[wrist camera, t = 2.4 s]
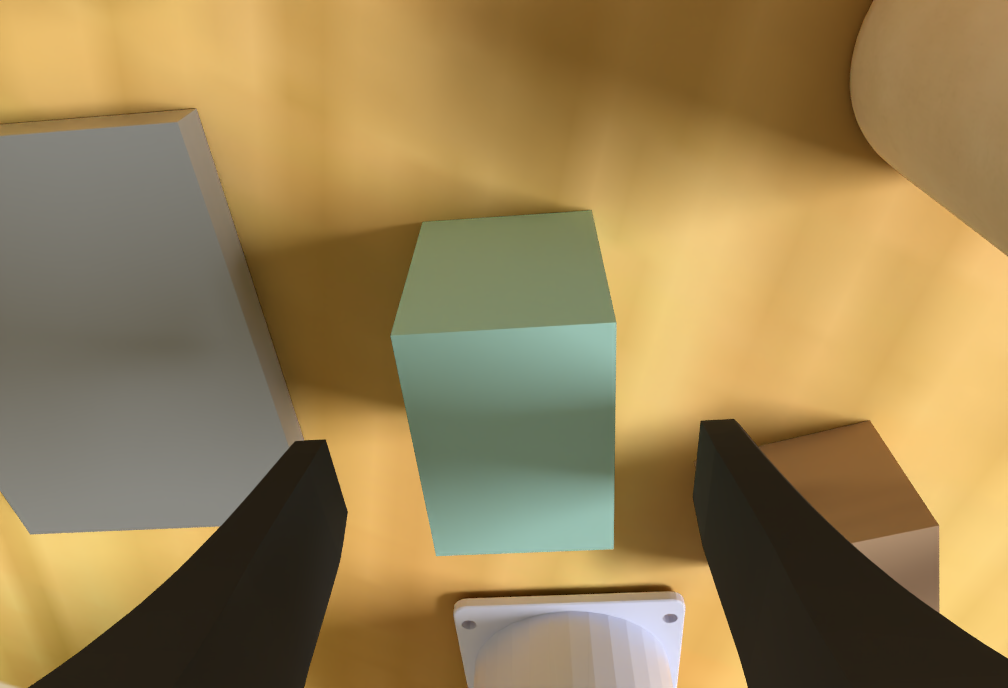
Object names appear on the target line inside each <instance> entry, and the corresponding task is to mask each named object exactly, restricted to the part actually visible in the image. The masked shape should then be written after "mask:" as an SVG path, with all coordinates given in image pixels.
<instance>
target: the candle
mask: <svg viewBox="0 0 1008 688" xmlns="http://www.w3.org/2000/svg"><path fill="white" fill-rule="evenodd" d="M850 95H851V101H852V108H853V111H854V114H855V117H856V120H857V123H858V125H859V127H860V129H861V131H862V133H863V135H864V136H865V138H866V139H867V141H868V142H869V144H870V145H871V146H872V148H873V149H874V150H875V152H876V153H877V154H878V155H879V156H880V157H881V158H883V159H884V160H885V161H886V162H887V163H888V164H889V165H890V166H892V167H893V168H894V169H895V170H896V171H898V172H899V173H900V174H901V175H902V176H904V177H905V178H906V179H908V180H909V181H910V182H912V183H913V184H914V185H915V186H917V187H918V188H919V189H921V190H922V191H923V192H925V193H926V194H927V195H929V196H930V197H931V198H932V199H934V200H935V201H936V202H938V203H939V204H940V205H942V206H943V207H944V208H945V209H947V210H948V211H949V212H951V213H952V214H953V215H955V216H956V217H957V218H959V219H960V220H961V221H962V222H964V223H965V224H966V225H968V226H969V227H970V228H972V229H973V230H974V231H975V232H977V233H978V234H979V235H981V236H982V237H983V238H985V239H986V240H987V241H989V242H990V243H991V244H992V245H994V246H995V247H996V248H998V249H999V250H1000V251H1002V252H1003V253H1004V254H1005V255H1007V256H1008V0H873V2H872V4H871V6H870V8H869V10H868V12H867V14H866V16H865V18H864V20H863V23H862V26H861V28H860V31H859V34H858V37H857V39H856V43H855V48H854V52H853V56H852V62H851V70H850Z"/></svg>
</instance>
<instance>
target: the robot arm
mask: <svg viewBox="0 0 1008 688" xmlns="http://www.w3.org/2000/svg"><path fill="white" fill-rule="evenodd" d="M693 501H694V506H695V511H696V516H697V521H698V526H699V531H700V536H701V540H702V545H703V549H704V552H705V555H706V558H707V561H708V564H709V567H710V570H711V573H712V576H713V580H714V583H715V586H716V589H717V592H718V595H719V598H720V601H721V604H722V606H723V609H724V612H725V615H726V618H727V621H728V624H729V627H730V630H731V633H732V636H733V639H734V642H735V645H736V648H737V651H738V654H739V657H740V661H741V664H742V668H743V671H744V675H745V678H746V682H747V686H748V688H1008V658H1006V657H1004V656H1003V655H1001V654H1000V653H998V652H996V651H995V650H993V649H992V648H990V647H988V646H987V645H985V644H984V643H982V642H980V641H979V640H977V639H976V638H974V637H973V636H971V635H970V634H968V633H967V632H965V631H964V630H962V629H961V628H960V627H958V626H957V625H955V624H954V623H953V622H951V621H950V620H948V619H947V618H945V617H944V616H943V615H941V614H940V613H938V612H937V611H936V610H934V609H933V608H931V607H930V606H928V605H927V604H926V603H924V602H923V601H921V600H920V599H919V598H917V597H916V596H915V595H913V594H912V593H911V592H909V591H908V590H907V589H905V588H904V587H903V586H901V585H900V584H899V583H898V582H896V581H895V580H894V579H893V578H891V577H890V576H889V575H888V574H887V573H885V572H884V571H883V570H882V569H880V568H879V567H878V566H877V565H876V564H874V563H873V562H872V561H871V560H870V559H868V558H867V557H866V556H865V555H864V554H863V553H862V552H860V551H859V550H858V549H857V548H856V547H855V546H854V545H853V544H852V543H850V542H849V541H848V540H847V539H846V538H845V537H844V536H843V535H842V534H841V533H840V532H839V531H838V530H836V529H835V528H834V527H833V526H832V525H831V524H830V523H829V522H828V521H827V520H826V519H825V518H824V517H823V516H822V515H821V514H820V513H819V512H818V511H817V510H816V509H815V508H814V507H813V506H812V505H811V504H810V503H809V502H808V501H807V500H806V499H805V498H804V497H803V496H802V495H801V494H800V493H799V492H798V491H797V489H796V488H795V487H794V486H793V485H792V484H791V483H790V482H789V481H788V480H787V479H786V478H785V477H784V476H783V474H782V473H781V472H780V471H779V470H778V469H777V468H776V467H775V466H774V464H773V463H772V462H771V461H770V460H769V459H768V458H767V456H766V455H765V454H764V453H763V452H762V451H761V450H760V448H759V447H758V446H757V445H756V444H755V442H754V441H753V440H752V439H751V438H750V436H749V435H748V434H747V433H746V432H745V430H744V429H743V428H742V427H741V426H740V424H739V423H738V422H736V421H735V420H734V419H726V420H706V421H701V423H700V433H699V442H698V452H697V461H696V471H695V481H694V490H693ZM347 513H348V511H347V508H346V505H345V502H344V498H343V495H342V492H341V488H340V485H339V482H338V479H337V475H336V472H335V469H334V465H333V462H332V459H331V456H330V452H329V449H328V446H327V442H326V439H325V440H305V441H295V442H294V443H293V444H292V445H291V446H290V447H289V448H288V450H287V451H286V452H285V453H284V454H283V455H282V456H281V458H280V459H279V460H278V461H277V462H276V463H275V465H274V466H273V467H272V468H271V469H270V470H269V472H268V473H267V474H266V475H265V476H264V478H263V479H262V480H261V481H260V482H259V483H258V485H257V486H256V487H255V488H254V489H253V490H252V492H251V493H250V494H249V495H248V496H247V497H246V498H245V500H244V501H243V502H242V503H241V504H240V505H239V506H238V507H237V509H236V510H235V511H234V512H233V513H232V514H231V515H230V516H229V517H228V519H227V520H226V521H225V522H224V523H223V524H222V525H221V526H220V527H219V528H218V530H217V531H216V532H215V533H214V534H213V535H212V536H211V537H210V538H209V539H208V540H207V541H206V542H205V543H204V544H203V545H202V546H201V547H200V548H199V549H198V550H197V551H196V552H195V553H194V554H193V555H192V556H191V557H190V558H189V559H188V560H187V561H186V562H185V563H184V564H183V565H182V566H181V567H180V568H179V569H178V570H177V571H176V572H175V573H174V574H173V575H172V576H171V577H170V578H169V579H168V580H166V581H165V582H164V583H163V584H162V585H161V586H160V587H159V588H157V589H156V590H155V591H154V592H153V593H152V594H151V595H150V596H148V597H147V598H146V599H145V600H144V601H143V602H142V603H140V604H139V605H138V606H137V607H136V608H135V609H133V610H132V611H131V612H130V613H128V614H127V615H126V616H125V617H123V618H122V619H121V620H120V621H118V622H117V623H116V624H114V625H113V626H112V627H111V628H109V629H108V630H107V631H106V632H104V633H103V634H102V635H100V636H99V637H98V638H97V639H95V640H94V641H93V642H92V643H90V644H89V645H88V646H86V647H85V648H84V649H83V650H81V651H80V652H78V653H77V654H76V655H74V656H73V657H72V658H70V659H69V660H67V661H66V662H65V663H63V664H62V665H60V666H59V667H58V668H56V669H55V670H53V671H52V672H51V673H49V674H48V675H46V676H45V677H43V678H42V679H40V680H39V681H37V682H36V683H34V684H33V685H31V686H30V687H28V688H304V686H305V682H306V678H307V674H308V670H309V666H310V663H311V659H312V656H313V653H314V649H315V646H316V642H317V639H318V636H319V632H320V629H321V625H322V622H323V619H324V615H325V612H326V608H327V605H328V602H329V598H330V595H331V591H332V588H333V584H334V581H335V577H336V574H337V570H338V567H339V563H340V558H341V552H342V547H343V541H344V534H345V527H346V520H347ZM453 616H454V621H455V626H456V631H457V636H458V641H459V646H460V651H461V656H462V661H463V666H464V671H465V676H466V681H467V686H468V688H677V681H678V671H679V662H680V653H681V644H682V635H683V625H684V616H685V604H684V599H683V596H682V595H681V594H679V593H676V592H672V591H664V592H636V593H607V594H578V595H550V596H521V597H493V598H466V599H461V600H459V601H457V602H456V603H455V605H454V614H453Z"/></svg>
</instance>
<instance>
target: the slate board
mask: <svg viewBox="0 0 1008 688" xmlns="http://www.w3.org/2000/svg"><path fill="white" fill-rule="evenodd" d="M295 441H304V438H303V435H302V432H301V429H300V426H299V423H298V420H297V417H296V414H295V411H294V407H293V404H292V401H291V398H290V395H289V392H288V389H287V386H286V383H285V380H284V377H283V374H282V370H281V367H280V364H279V361H278V358H277V355H276V352H275V349H274V346H273V343H272V340H271V337H270V334H269V330H268V327H267V324H266V321H265V318H264V315H263V312H262V309H261V306H260V303H259V300H258V297H257V294H256V290H255V287H254V284H253V281H252V278H251V275H250V272H249V269H248V266H247V263H246V260H245V257H244V253H243V250H242V247H241V244H240V241H239V238H238V235H237V232H236V229H235V226H234V223H233V220H232V217H231V213H230V210H229V207H228V204H227V201H226V198H225V195H224V192H223V189H222V186H221V183H220V180H219V177H218V173H217V170H216V167H215V164H214V161H213V158H212V155H211V152H210V149H209V146H208V143H207V140H206V136H205V133H204V130H203V127H202V124H201V121H200V118H199V115H198V112H197V109H185V110H173V111H160V112H148V113H135V114H123V115H110V116H98V117H85V118H73V119H60V120H48V121H35V122H23V123H10V124H0V491H1V493H2V494H3V496H4V497H5V499H6V500H7V501H8V503H9V504H10V506H11V507H12V509H13V510H14V512H15V513H16V514H17V516H18V517H19V519H20V520H21V522H22V523H23V525H24V526H25V527H26V529H27V530H28V532H29V533H30V534H50V533H73V532H97V531H120V530H144V529H168V528H191V527H215V526H221V525H222V524H223V523H224V522H225V521H226V520H227V519H228V517H229V516H230V515H231V514H232V513H233V512H234V511H235V510H236V509H237V507H238V506H239V505H240V504H241V503H242V502H243V501H244V500H245V498H246V497H247V496H248V495H249V494H250V493H251V492H252V490H253V489H254V488H255V487H256V486H257V485H258V483H259V482H260V481H261V480H262V479H263V478H264V476H265V475H266V474H267V473H268V472H269V470H270V469H271V468H272V467H273V466H274V465H275V463H276V462H277V461H278V460H279V459H280V458H281V456H282V455H283V454H284V453H285V452H286V451H287V450H288V448H289V447H290V446H291V445H292V444H293V443H294V442H295Z"/></svg>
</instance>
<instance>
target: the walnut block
mask: <svg viewBox="0 0 1008 688" xmlns="http://www.w3.org/2000/svg"><path fill="white" fill-rule="evenodd" d="M758 447H759V448H760V450H761V451H762V452H763V453H764V454H765V455H766V456H767V458H768V459H769V460H770V461H771V462H772V463H773V464H774V466H775V467H776V468H777V469H778V470H779V471H780V472H781V473H782V474H783V476H784V477H785V478H786V479H787V480H788V481H789V482H790V483H791V484H792V485H793V486H794V487H795V488H796V489H797V491H798V492H799V493H800V494H801V495H802V496H803V497H804V498H805V499H806V500H807V501H808V502H809V503H810V504H811V505H812V506H813V507H814V508H815V509H816V510H817V511H818V512H819V513H820V514H821V515H822V516H823V517H824V518H825V519H826V520H827V521H828V522H829V523H830V524H831V525H832V526H833V527H834V528H835V529H836V530H838V531H839V532H840V533H841V534H842V535H843V536H844V537H845V538H846V539H847V540H848V541H849V542H850V543H852V544H853V545H854V546H855V547H856V548H857V549H858V550H859V551H860V552H862V553H863V554H864V555H865V556H866V557H867V558H868V559H870V560H871V561H872V562H873V563H874V564H876V565H877V566H878V567H879V568H880V569H882V570H883V571H884V572H885V573H887V574H888V575H889V576H890V577H891V578H893V579H894V580H895V581H896V582H898V583H899V584H900V585H901V586H903V587H904V588H905V589H907V590H908V591H909V592H911V593H912V594H913V595H915V596H916V597H917V598H919V599H920V600H921V601H923V602H924V603H926V604H927V605H928V606H930V607H931V608H933V609H934V610H936V611H937V612H938V613H939V525H938V523H937V522H936V520H935V519H934V517H933V516H932V514H931V513H930V511H929V510H928V508H927V507H926V505H925V503H924V502H923V500H922V499H921V497H920V496H919V494H918V493H917V491H916V490H915V488H914V487H913V485H912V484H911V482H910V481H909V479H908V478H907V476H906V475H905V473H904V472H903V470H902V469H901V467H900V466H899V464H898V463H897V461H896V460H895V458H894V456H893V455H892V453H891V452H890V450H889V449H888V447H887V446H886V444H885V443H884V441H883V440H882V438H881V437H880V435H879V434H878V432H877V431H876V429H875V428H874V426H873V425H872V423H871V422H870V420H869V421H865V422H861V423H856V424H852V425H848V426H843V427H839V428H835V429H830V430H826V431H822V432H818V433H813V434H809V435H805V436H800V437H796V438H792V439H787V440H783V441H779V442H774V443H770V444H766V445H762V446H758ZM694 464H695V468H696V461H694Z"/></svg>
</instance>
